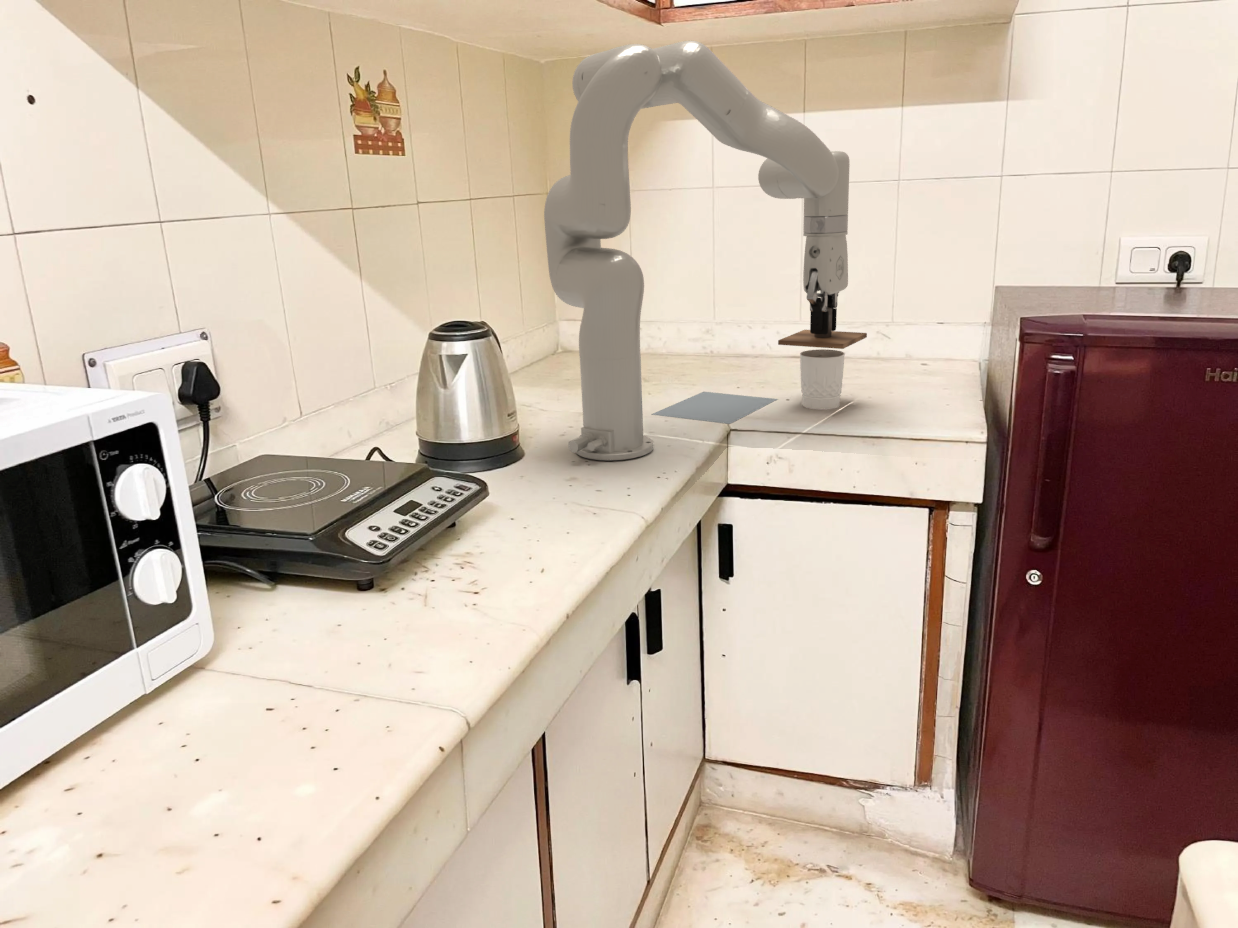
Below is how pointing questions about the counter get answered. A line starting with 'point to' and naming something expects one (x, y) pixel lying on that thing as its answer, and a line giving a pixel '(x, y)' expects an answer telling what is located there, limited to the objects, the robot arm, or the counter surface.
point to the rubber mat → (715, 407)
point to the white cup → (821, 378)
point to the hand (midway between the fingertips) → (823, 331)
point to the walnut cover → (823, 338)
